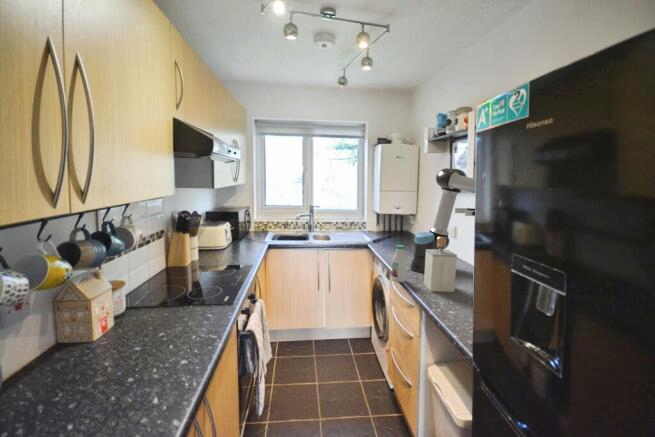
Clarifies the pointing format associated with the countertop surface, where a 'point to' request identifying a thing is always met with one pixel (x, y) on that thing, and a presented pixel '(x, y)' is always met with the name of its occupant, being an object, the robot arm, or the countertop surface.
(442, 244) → the plunger
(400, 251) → the milk bottle
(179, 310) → the countertop surface
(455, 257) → the beige rectangular box
